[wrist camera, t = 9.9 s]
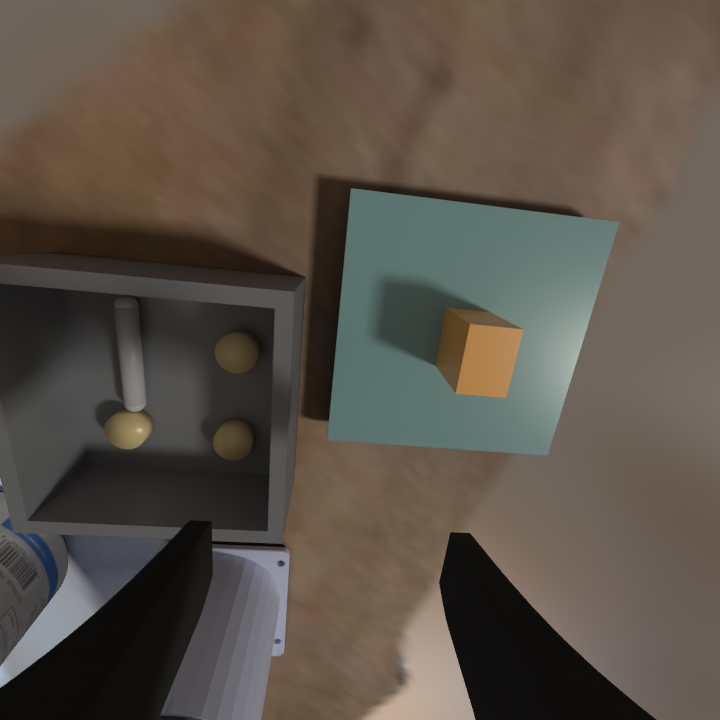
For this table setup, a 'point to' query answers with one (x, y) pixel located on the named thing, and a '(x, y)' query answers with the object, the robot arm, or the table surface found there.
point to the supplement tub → (26, 578)
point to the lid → (460, 322)
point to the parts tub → (147, 397)
